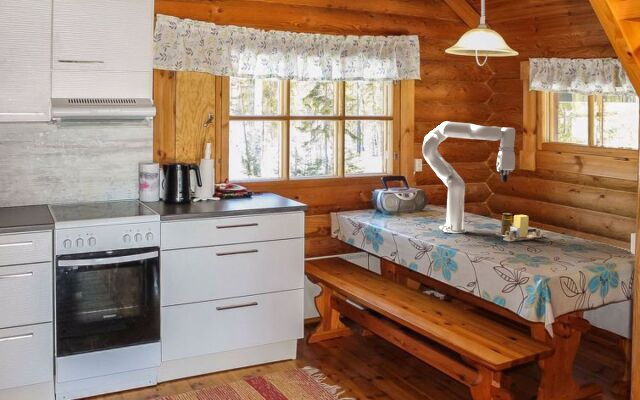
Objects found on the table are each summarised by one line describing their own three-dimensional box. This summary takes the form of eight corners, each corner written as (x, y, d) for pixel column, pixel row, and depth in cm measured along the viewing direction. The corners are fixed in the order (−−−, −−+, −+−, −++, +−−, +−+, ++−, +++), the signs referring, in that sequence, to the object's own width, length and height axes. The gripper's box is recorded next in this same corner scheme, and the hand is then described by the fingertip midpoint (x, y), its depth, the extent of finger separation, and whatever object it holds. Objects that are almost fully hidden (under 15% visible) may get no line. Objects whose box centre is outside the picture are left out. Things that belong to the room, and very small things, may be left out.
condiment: (514, 234, 396) (516, 214, 394) (504, 236, 391) (505, 215, 390) (505, 232, 402) (506, 212, 400) (494, 234, 397) (495, 213, 396)
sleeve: (519, 237, 381) (520, 216, 379) (512, 235, 385) (513, 215, 384) (527, 236, 384) (528, 216, 382) (520, 234, 388) (522, 214, 386)
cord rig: (509, 241, 378) (509, 232, 377) (503, 239, 382) (503, 230, 382) (541, 237, 389) (542, 228, 388) (535, 235, 394) (535, 227, 393)
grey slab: (516, 239, 380) (517, 228, 379) (509, 237, 385) (510, 226, 384) (519, 238, 381) (520, 227, 380) (512, 237, 386) (513, 226, 385)
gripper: (500, 150, 386) (497, 182, 389) (521, 150, 393) (518, 182, 396) (491, 148, 393) (489, 181, 396) (512, 148, 399) (509, 180, 402)
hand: (503, 181), depth 396 cm, fingers closed
